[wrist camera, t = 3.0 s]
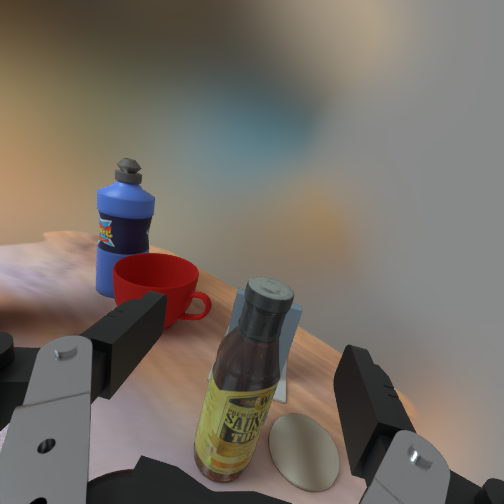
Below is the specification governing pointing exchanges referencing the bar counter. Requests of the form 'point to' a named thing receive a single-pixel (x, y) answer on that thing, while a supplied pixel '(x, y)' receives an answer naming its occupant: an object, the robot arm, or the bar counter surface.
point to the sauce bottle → (242, 382)
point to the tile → (286, 330)
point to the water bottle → (121, 222)
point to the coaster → (304, 452)
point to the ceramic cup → (159, 283)
